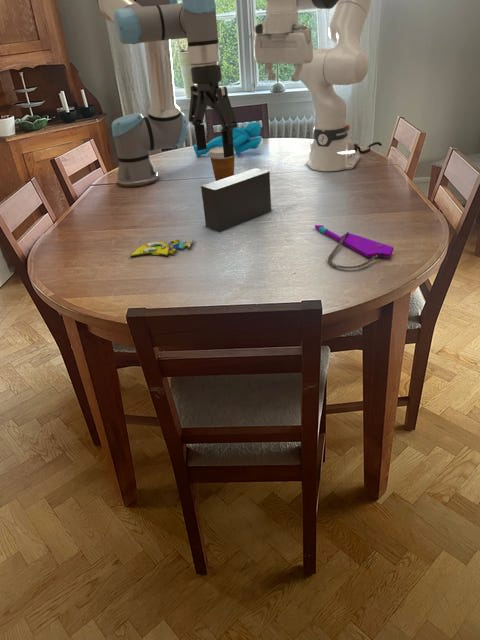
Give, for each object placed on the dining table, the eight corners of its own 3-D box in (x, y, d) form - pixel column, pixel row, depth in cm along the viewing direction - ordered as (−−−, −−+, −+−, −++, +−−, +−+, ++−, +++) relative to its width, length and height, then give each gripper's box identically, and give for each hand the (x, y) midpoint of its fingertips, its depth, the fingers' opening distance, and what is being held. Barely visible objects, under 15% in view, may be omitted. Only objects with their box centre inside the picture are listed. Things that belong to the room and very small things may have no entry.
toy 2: (199, 135, 215) (262, 115, 205) (207, 159, 220) (269, 140, 210) (187, 145, 201) (254, 124, 191) (196, 170, 206) (262, 151, 196)
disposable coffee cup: (207, 187, 170) (203, 152, 164) (218, 179, 178) (215, 145, 171) (232, 188, 167) (229, 153, 161) (242, 180, 174) (239, 146, 168)
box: (219, 232, 136) (214, 190, 129) (205, 226, 140) (200, 185, 133) (271, 211, 146) (269, 171, 140) (257, 206, 150) (255, 168, 144)
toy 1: (185, 253, 123) (129, 254, 125) (186, 256, 123) (130, 257, 125) (193, 237, 131) (141, 238, 133) (194, 240, 132) (141, 241, 134)
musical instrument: (376, 279, 107) (404, 235, 119) (376, 271, 106) (404, 227, 118) (282, 266, 120) (316, 227, 132) (281, 259, 119) (315, 220, 131)
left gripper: (247, 63, 111) (253, 156, 123) (193, 62, 129) (203, 144, 141) (220, 67, 108) (229, 162, 119) (168, 66, 126) (180, 149, 137)
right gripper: (318, 23, 128) (317, 80, 135) (264, 26, 141) (266, 78, 149) (302, 24, 125) (302, 83, 132) (249, 27, 138) (252, 81, 145)
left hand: (215, 153), depth 130 cm, fingers open, 13 cm apart
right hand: (283, 80), depth 140 cm, fingers open, 8 cm apart
